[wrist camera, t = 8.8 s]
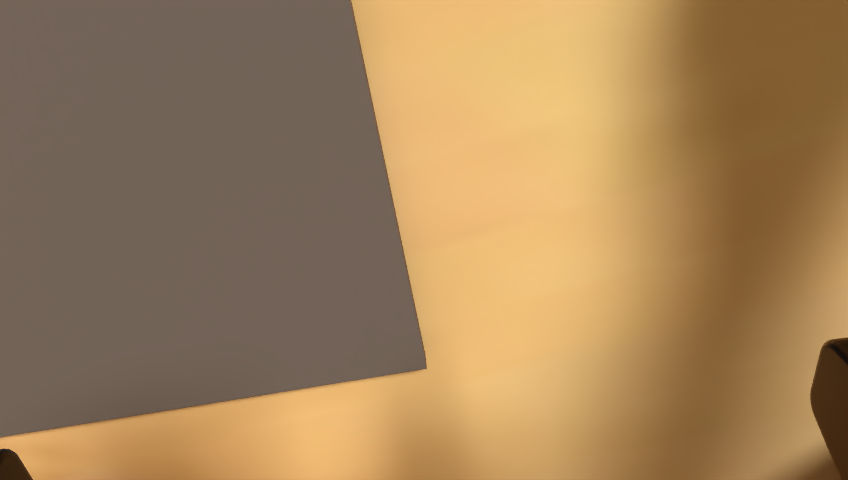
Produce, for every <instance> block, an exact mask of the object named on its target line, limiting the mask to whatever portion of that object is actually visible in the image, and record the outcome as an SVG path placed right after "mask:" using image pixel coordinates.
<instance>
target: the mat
mask: <svg viewBox="0 0 848 480" xmlns="http://www.w3.org/2000/svg"><path fill="white" fill-rule="evenodd" d="M422 369H427V367H426V357H425V351H424V347H423V342H422V337H421V332H420V327H419V323H418V318H417V313H416V308H415V304H414V299H413V294H412V289H411V284H410V280H409V275H408V270H407V265H406V261H405V256H404V251H403V246H402V241H401V237H400V232H399V227H398V222H397V218H396V213H395V208H394V203H393V198H392V194H391V189H390V184H389V179H388V174H387V170H386V165H385V160H384V155H383V151H382V146H381V141H380V136H379V131H378V127H377V122H376V117H375V112H374V108H373V103H372V98H371V93H370V88H369V84H368V79H367V74H366V69H365V65H364V60H363V55H362V50H361V45H360V41H359V36H358V31H357V26H356V22H355V17H354V12H353V7H352V2H351V0H0V437H5V436H11V435H17V434H24V433H30V432H36V431H42V430H49V429H55V428H61V427H67V426H74V425H80V424H86V423H92V422H98V421H105V420H111V419H117V418H123V417H130V416H136V415H142V414H148V413H154V412H161V411H167V410H173V409H179V408H186V407H192V406H198V405H204V404H210V403H217V402H223V401H229V400H235V399H242V398H248V397H254V396H260V395H266V394H273V393H279V392H285V391H291V390H298V389H304V388H310V387H316V386H322V385H329V384H335V383H341V382H347V381H354V380H360V379H366V378H372V377H378V376H385V375H391V374H397V373H403V372H410V371H416V370H422Z"/></svg>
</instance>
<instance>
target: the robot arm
mask: <svg viewBox="0 0 848 480" xmlns="http://www.w3.org/2000/svg"><path fill="white" fill-rule="evenodd" d="M810 399H811V406H812V410H813V413H814V416H815V418H816V421H817V423H818V426H819V428H820V430H821V433H822V435H823V438H824V440H825V443H826V445H827V447H828V450H829V452H830V455H831V457H832V460H833V462H834V464H835V467H836V469H837V472H838V474H839V477H840V479H841V480H848V337H847V338H840V339H832V340H829V341H827V342H826V343H825V344H824V345H823V346H822V348H821V351H820V355H819V359H818V363H817V367H816V371H815V375H814V379H813V383H812V388H811V394H810ZM0 480H33V479H32V477H31V476H30V474H29V473H28V471H27V469H26V468H25V466H24V465H23V463H22V461H21V460H20V458H19V457H18V455H17V454H16V453H15V452H13V451H11V450H10V449H0Z"/></svg>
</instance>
